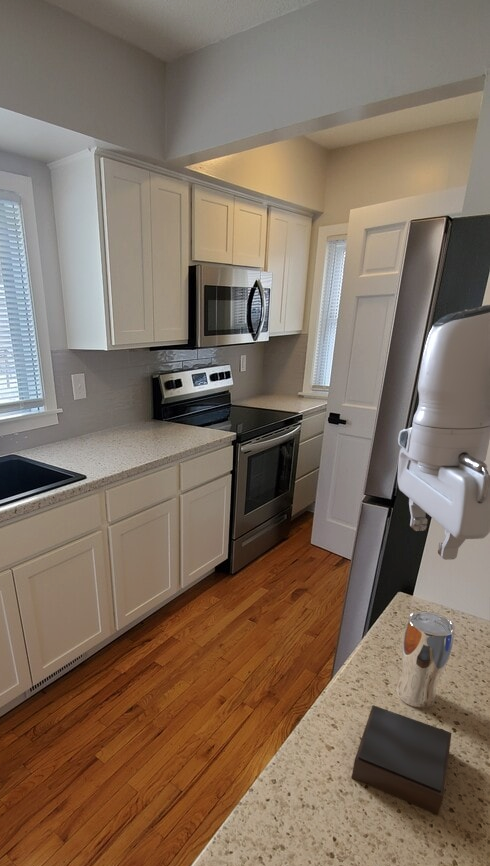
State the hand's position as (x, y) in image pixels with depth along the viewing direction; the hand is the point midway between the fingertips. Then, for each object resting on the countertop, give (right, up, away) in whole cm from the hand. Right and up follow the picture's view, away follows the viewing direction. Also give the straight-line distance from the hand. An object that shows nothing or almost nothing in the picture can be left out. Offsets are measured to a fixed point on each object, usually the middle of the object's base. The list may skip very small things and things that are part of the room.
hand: (431, 542), depth 68 cm
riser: (-3, -33, +3) cm, 33 cm away
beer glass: (+6, -27, +16) cm, 32 cm away
